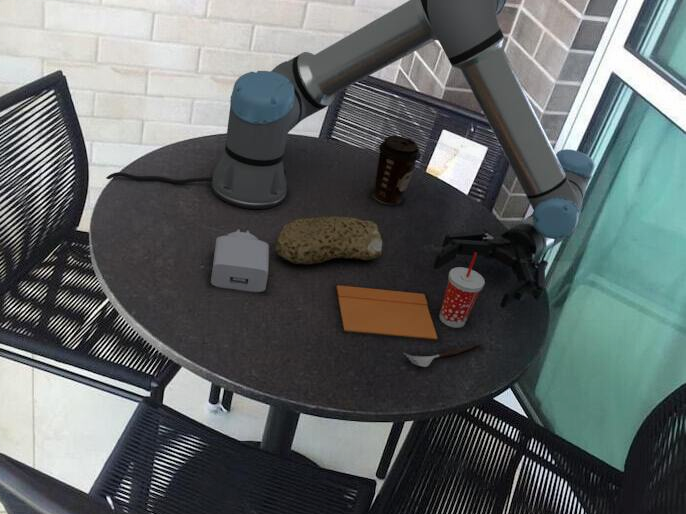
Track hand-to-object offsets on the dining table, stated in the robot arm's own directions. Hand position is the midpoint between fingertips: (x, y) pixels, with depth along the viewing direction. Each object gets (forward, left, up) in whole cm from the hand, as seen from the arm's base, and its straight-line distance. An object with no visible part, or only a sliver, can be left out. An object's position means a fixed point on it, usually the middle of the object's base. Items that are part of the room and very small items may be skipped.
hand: (469, 281), depth 138 cm
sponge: (-22, +15, -8) cm, 28 cm away
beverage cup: (-1, -1, -8) cm, 8 cm away
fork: (-5, -11, -8) cm, 15 cm away
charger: (-38, +9, -8) cm, 40 cm away
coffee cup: (-6, +40, -8) cm, 41 cm away
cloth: (-13, -1, -8) cm, 15 cm away
